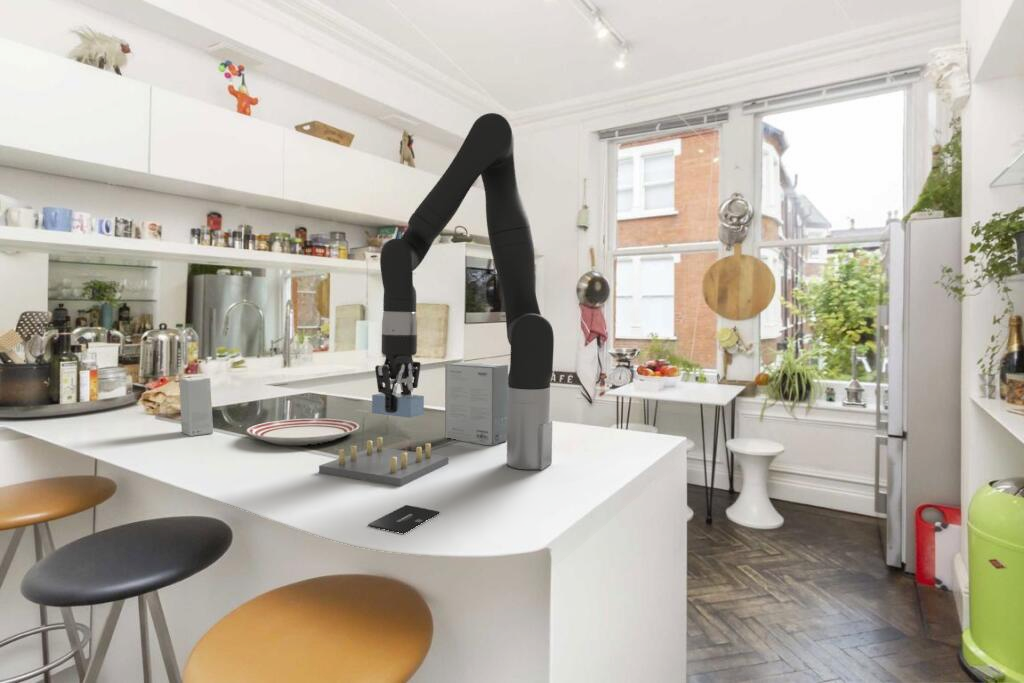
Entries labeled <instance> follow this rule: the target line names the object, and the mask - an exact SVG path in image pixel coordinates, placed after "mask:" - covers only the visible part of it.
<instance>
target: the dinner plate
mask: <svg viewBox="0 0 1024 683" xmlns="http://www.w3.org/2000/svg"><path fill="white" fill-rule="evenodd" d="M358 429H360V425H359V424H358V423H357V422H355V421H350V420H345V419H337V418H336V419H334V418H296V419H295V418H294V419H281V420H274V421H268V422H263V423H259V424H255V425H252V426H249V427H248V428H247V429H246V433H247V434H248V435H249V436H251V437H254V438H255V439H258V440H261V441H265V442H268V443H270V444H274V445H279V446H307V445H308V444H311V445H317V443H320V444H324V443H323V442H326V443H328V442H327V441H330V442H332V441H331V440H334V441H336V440H335V439H337V438H339V439H340V438H343V437H345V436H347V435H350V434H352V433H353V432H355V431H356V430H358ZM337 440H338V439H337ZM308 446H309V445H308Z"/></svg>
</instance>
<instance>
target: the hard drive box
mask: <svg viewBox="0 0 1024 683" xmlns="http://www.w3.org/2000/svg"><path fill="white" fill-rule="evenodd" d="M444 365H445V366H444V367H445V368H444V369H445V371H444V372H445V373H444V374H445V377H444V378H445V379H444V380H445V385H444V386H445V387H444V388H445V394H444V395H445V397H444V398H445V401H444V403H445V404H444V406H445V409H444V411H445V416H444V419H445V420H444V427H445V428H444V429H445V430H444V433H445V434H444V437H446V438H445V439H447V438H452V439H451V440H453V439H457V440H456V441H458V440H459V441H460V442H467V443H472V444H477V445H483V446H485V445H486V446H495V445H498V444H501V443H504V442H507V418H508V375H509V365H508V364H495V363H482V362H481V363H477V362H454V363H445V364H444Z"/></svg>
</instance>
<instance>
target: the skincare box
mask: <svg viewBox="0 0 1024 683" xmlns="http://www.w3.org/2000/svg"><path fill="white" fill-rule="evenodd" d="M178 380H179V382H178V383H179V404H180V422H181V432H182V434H183V433H184V434H186V435H187V436H189V437H194V436H202V435H212V434H213V433H214V426H213V405H212V404H213V403H212V390H211V388H212V387H211V378H210V377H205V376H193V377H182V378H181V377H180V378H178Z"/></svg>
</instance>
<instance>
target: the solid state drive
mask: <svg viewBox="0 0 1024 683" xmlns="http://www.w3.org/2000/svg"><path fill="white" fill-rule="evenodd" d="M439 513H440V514H441V512H440V511H439V510H434V509H428V508H425V507H418V506H414V505H411V504H410V505H409V504H408V505H407V504H406V505H403V506H401V507H399V508H397V509H396V510H393V511H391V512H389V513H387V514H385V515H383V516H382V517H379V518H377V519H375V520H374V521H371V522H369V523H367V527H368V526H371V527H370V528H372V527H375V528H374V529H377V528H380V529H379V530H381V529H385V530H389V531H388V532H390V531H394V532H393V533H395V532H399V533H403V534H402V535H405V534H404V533H406V532H407V533H409V532H411V531H412V530H411V529H413V528H414V529H416V528H417V527H416V526H418V525H420V524H421V523H423V522H425V521H426V520H428V519H430V518H432V517H434V516H435V515H437V514H439ZM440 514H439V515H440ZM437 516H438V515H437ZM435 517H436V516H435ZM435 517H434V518H435ZM432 519H433V518H432ZM430 520H431V519H430ZM428 521H429V520H428ZM425 523H426V522H425ZM423 524H424V523H423ZM421 525H422V524H421ZM421 525H420V526H421ZM415 527H416V528H415ZM418 527H419V526H418ZM414 529H413V530H414ZM385 530H384V531H385ZM410 530H411V531H410ZM408 531H409V532H408ZM407 533H406V534H407Z"/></svg>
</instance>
